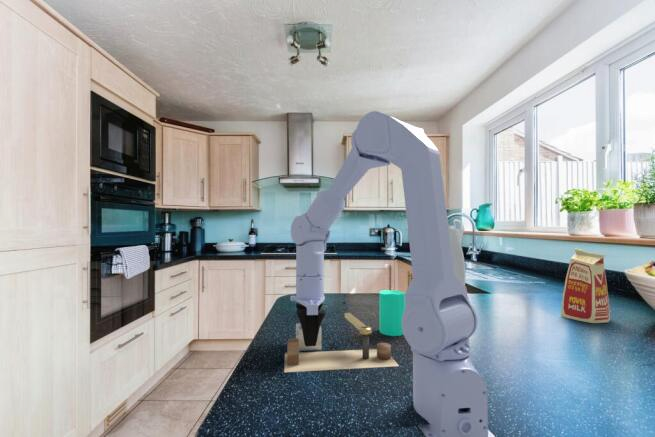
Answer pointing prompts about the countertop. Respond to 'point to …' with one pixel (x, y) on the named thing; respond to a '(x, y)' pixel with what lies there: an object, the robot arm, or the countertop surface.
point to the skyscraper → (457, 251)
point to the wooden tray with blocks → (338, 358)
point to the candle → (391, 312)
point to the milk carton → (586, 289)
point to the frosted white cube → (301, 339)
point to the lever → (358, 324)
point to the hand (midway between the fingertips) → (309, 341)
